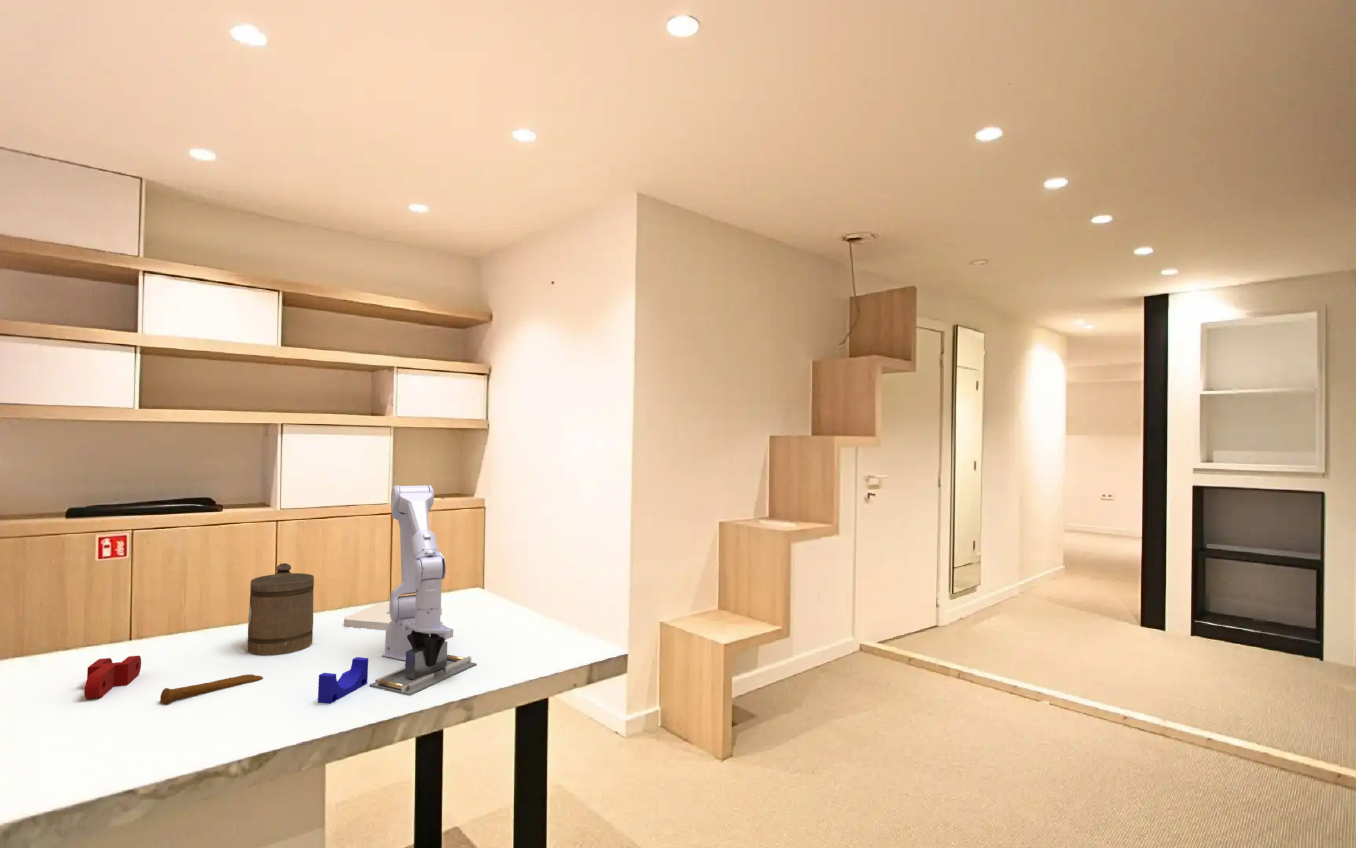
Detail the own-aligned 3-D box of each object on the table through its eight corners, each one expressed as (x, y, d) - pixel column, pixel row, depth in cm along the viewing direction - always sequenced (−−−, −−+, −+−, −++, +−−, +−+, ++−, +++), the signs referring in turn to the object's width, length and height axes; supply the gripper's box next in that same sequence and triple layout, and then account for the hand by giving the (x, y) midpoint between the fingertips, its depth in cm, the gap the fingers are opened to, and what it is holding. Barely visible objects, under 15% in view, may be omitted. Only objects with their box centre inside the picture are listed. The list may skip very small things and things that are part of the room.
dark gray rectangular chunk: (405, 677, 153) (405, 651, 153) (437, 664, 162) (438, 639, 162) (414, 679, 151) (415, 653, 151) (446, 666, 160) (447, 641, 161)
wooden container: (276, 636, 183) (279, 557, 183) (324, 640, 180) (327, 560, 181) (232, 653, 168) (236, 567, 168) (285, 658, 166) (288, 570, 166)
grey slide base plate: (369, 686, 148) (369, 684, 148) (439, 657, 169) (439, 656, 169) (409, 695, 144) (410, 693, 144) (476, 665, 164) (476, 663, 164)
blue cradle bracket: (349, 682, 151) (351, 656, 151) (367, 684, 150) (368, 658, 150) (311, 702, 139) (312, 674, 139) (330, 705, 138) (331, 676, 139)
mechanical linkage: (102, 677, 150) (103, 655, 150) (140, 674, 153) (141, 652, 153) (69, 704, 135) (70, 680, 135) (112, 700, 138) (113, 676, 138)
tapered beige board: (338, 628, 193) (339, 618, 194) (383, 609, 215) (384, 601, 215) (406, 633, 190) (407, 624, 190) (445, 614, 212) (446, 605, 212)
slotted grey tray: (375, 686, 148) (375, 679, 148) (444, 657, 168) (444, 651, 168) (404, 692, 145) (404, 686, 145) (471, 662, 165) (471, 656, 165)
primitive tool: (251, 676, 154) (251, 661, 154) (265, 680, 151) (265, 665, 152) (156, 705, 137) (157, 688, 137) (170, 710, 134) (171, 693, 134)
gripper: (463, 607, 157) (461, 664, 157) (419, 599, 163) (417, 654, 163) (441, 614, 151) (439, 673, 151) (396, 605, 157) (393, 662, 157)
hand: (426, 664), depth 156 cm, fingers closed on dark gray rectangular chunk, 3 cm apart
